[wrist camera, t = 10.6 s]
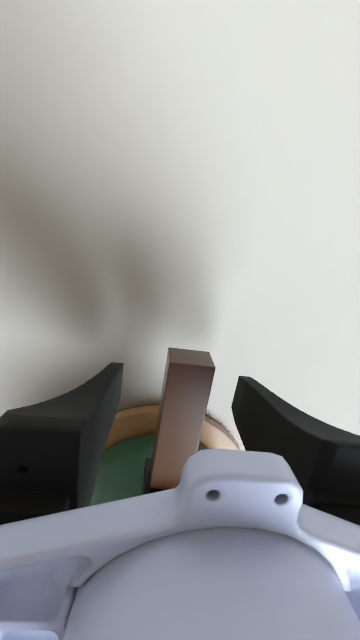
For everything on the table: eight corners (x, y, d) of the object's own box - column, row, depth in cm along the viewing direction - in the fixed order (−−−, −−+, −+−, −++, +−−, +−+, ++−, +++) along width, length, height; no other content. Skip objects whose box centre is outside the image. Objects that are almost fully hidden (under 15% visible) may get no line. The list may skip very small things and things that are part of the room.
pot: (215, 547, 22) (238, 686, 15) (75, 543, 20) (33, 691, 14) (273, 338, 16) (351, 410, 10) (86, 315, 15) (25, 378, 8)
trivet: (224, 545, 23) (226, 555, 22) (62, 539, 22) (58, 550, 21) (263, 413, 19) (267, 420, 18) (66, 395, 18) (62, 402, 17)
